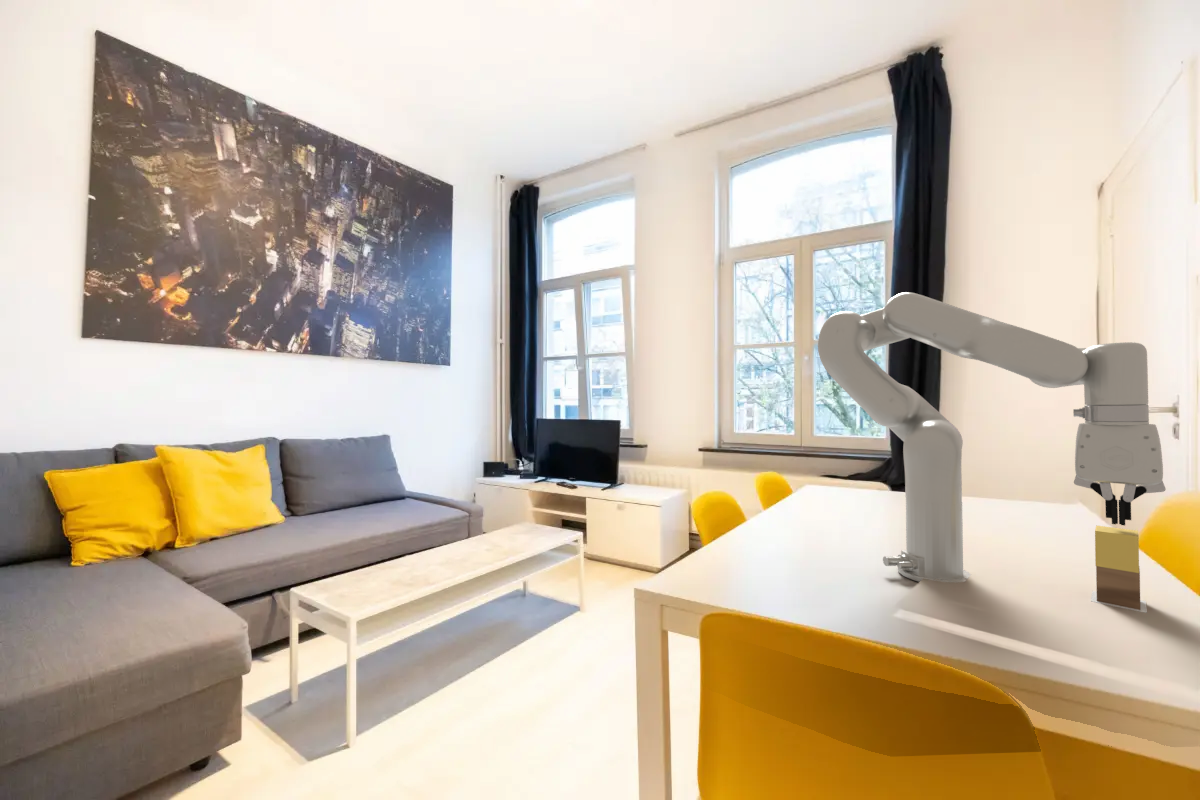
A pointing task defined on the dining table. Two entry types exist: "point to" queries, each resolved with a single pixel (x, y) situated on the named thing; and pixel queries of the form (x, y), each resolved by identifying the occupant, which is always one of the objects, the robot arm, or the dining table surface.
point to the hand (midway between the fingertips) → (1118, 523)
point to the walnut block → (1118, 587)
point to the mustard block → (1117, 548)
